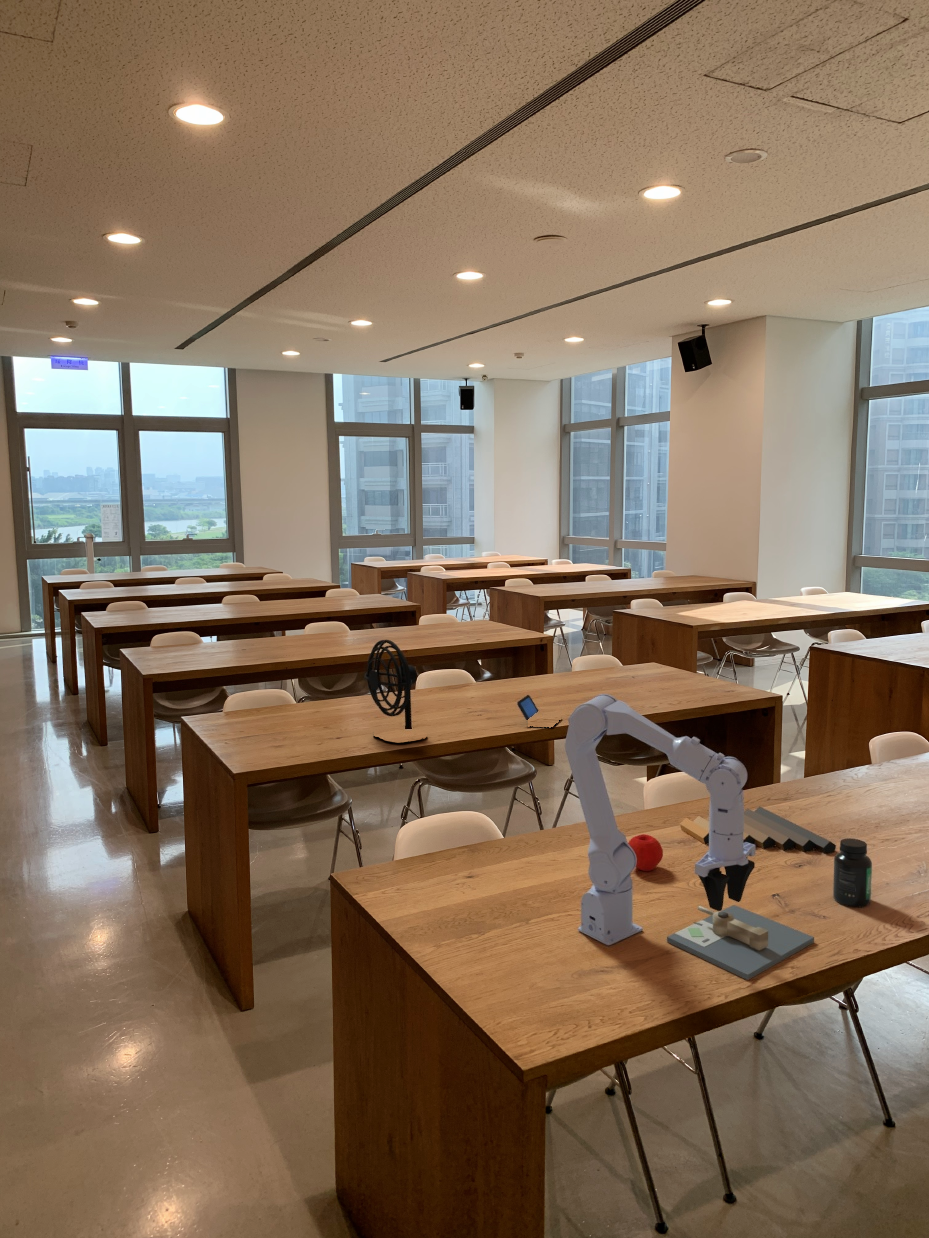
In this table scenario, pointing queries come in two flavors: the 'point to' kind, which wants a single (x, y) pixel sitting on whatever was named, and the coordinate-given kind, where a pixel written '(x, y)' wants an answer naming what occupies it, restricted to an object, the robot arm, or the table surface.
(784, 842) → the pan flute
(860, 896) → the supplement bottle
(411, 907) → the table surface
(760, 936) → the peg lever
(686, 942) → the grey square board
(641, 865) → the apple
